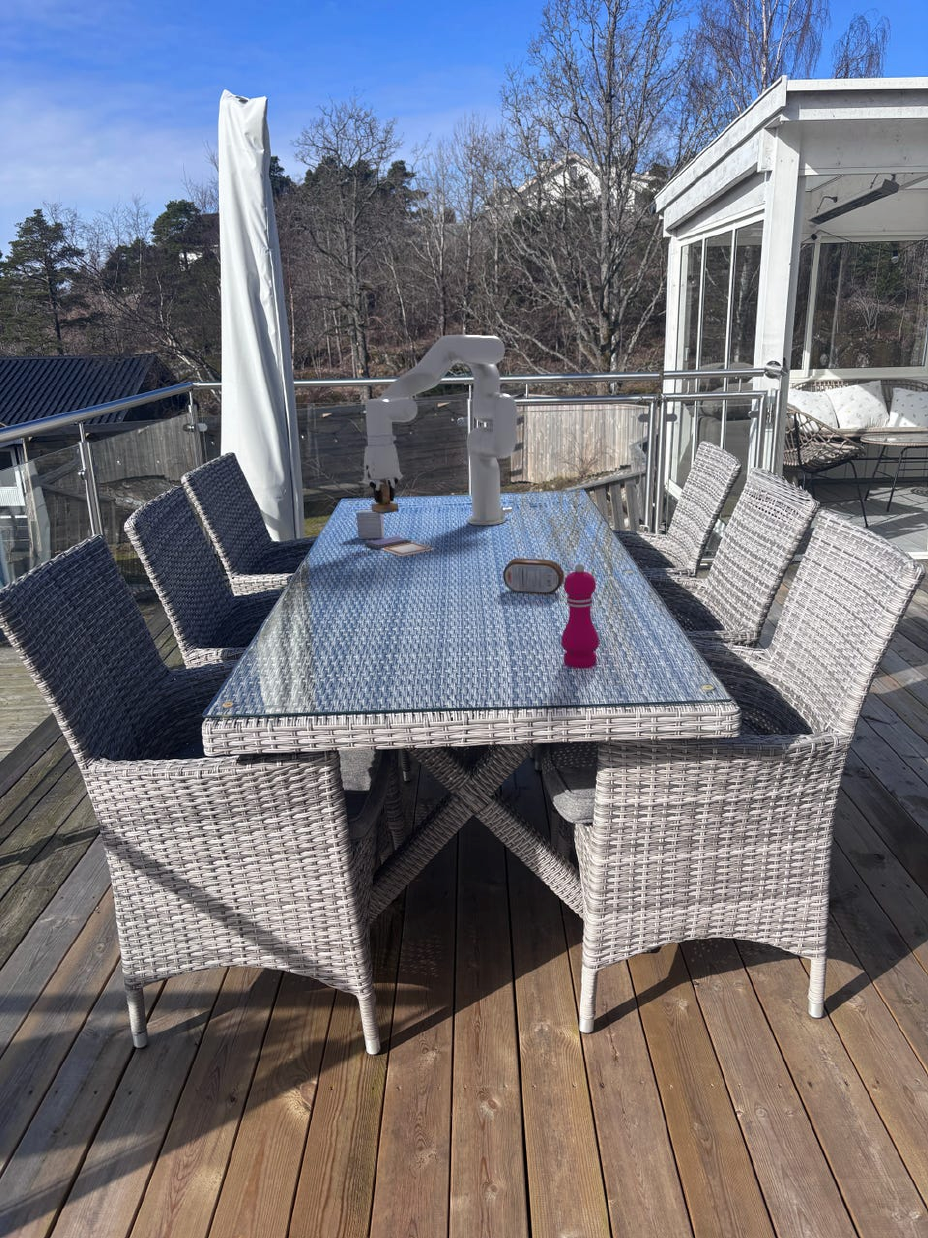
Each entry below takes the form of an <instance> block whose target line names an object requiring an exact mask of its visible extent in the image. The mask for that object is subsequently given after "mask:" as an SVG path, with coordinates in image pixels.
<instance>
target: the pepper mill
mask: <svg viewBox="0 0 928 1238" xmlns="http://www.w3.org/2000/svg"><path fill="white" fill-rule="evenodd" d="M574 569H575V570H574V571H573V572H571V573H569V574H567V575H566V577H565V578H564V580H563V588H564V592H566V594H567V596H566V605H567V606H569V607H568V608H569V617H568V619H567V623H566V624H565V628H564V629H563V632H562V636H561V640H560V641H561V646H562V649H564V651H565V653H564V654H563V664H564V663H565V664H564V665H565V666H566V665H567V666H566V667H568V666H569V667H568V668H571V667H573V668H572V669H578V668H582V669H588V668H592V667H594V666H595V665H596V664H597V654H596V650H597V649H598V648H599V645H600V638H599V634H598V632H597V630H596V628H595V626H594V623H593V620H592V616H591V609H592V608H591V607H592V605H593V604H594V601H593V600H594V596H593V593H594V592H595V591H596V586H597V585H596V579H595V578H594V576H593V575H592V573H589V572H588V571H585V566H584V564H582V563H577V564H576V565H575V568H574Z"/></svg>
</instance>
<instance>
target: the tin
mask: <svg viewBox="0 0 928 1238" xmlns="http://www.w3.org/2000/svg"><path fill="white" fill-rule="evenodd" d="M502 578H503V583H504V584H505V586H506V587H507V588H508V589H509V590H510V591H512V592H515V593H521V594H522V593H523V594H534V595H535V594H537V595H551V594H554V593H555V592H557V591H558V590H559V589H560V588H561V587H562V586H563V584H564V581H565V574H564V572H563V569H562V567H561V566H560V564H558V563H557V562H555V561H554V560H550V559H542V558H541V559H536V558H520V557H519V558H514V559H512V560H511V561H508V563H507V564H506V566H505V568H504V569H503V572H502Z"/></svg>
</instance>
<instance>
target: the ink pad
mask: <svg viewBox="0 0 928 1238" xmlns="http://www.w3.org/2000/svg"><path fill="white" fill-rule="evenodd" d="M411 542H412V540H411V539H408V538H405V537H401V536H398V535H396V536H391V537H385V538H384V537H383V538H378V539H375V540H368V541H365V542H364V546H366V547H368V548H371V549H374V550H377V551H378V550H381V548H385V547H390V546H395V545H401V544H406V543H411Z"/></svg>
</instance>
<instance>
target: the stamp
mask: <svg viewBox="0 0 928 1238" xmlns="http://www.w3.org/2000/svg"><path fill="white" fill-rule="evenodd" d="M380 490H381V493H382V503H376V502H372V503H371V510H372V511H373V512H376V513H380V514H383V515H384V514H390V513H396V512H399V503H398V502H394V501H390V492H389V485H388V484H387V483H386V484H385V483H384V484H380Z"/></svg>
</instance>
